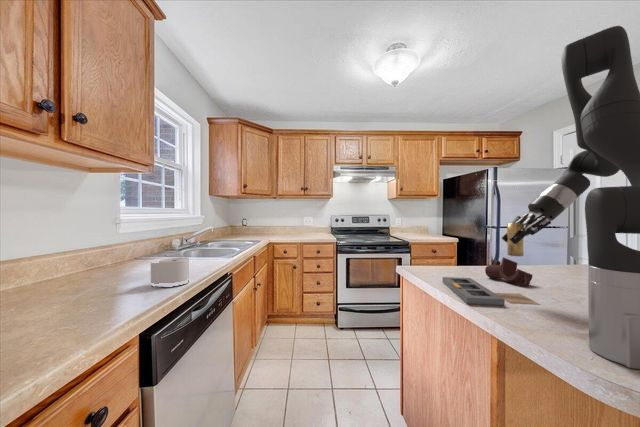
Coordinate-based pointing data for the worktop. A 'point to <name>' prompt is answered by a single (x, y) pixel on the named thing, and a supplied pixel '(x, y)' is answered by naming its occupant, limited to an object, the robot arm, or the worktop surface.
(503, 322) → the worktop surface
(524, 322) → the worktop surface
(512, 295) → the tan rectangular plate
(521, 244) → the gold domed cylinder
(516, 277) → the bracket
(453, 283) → the grey flat frame
